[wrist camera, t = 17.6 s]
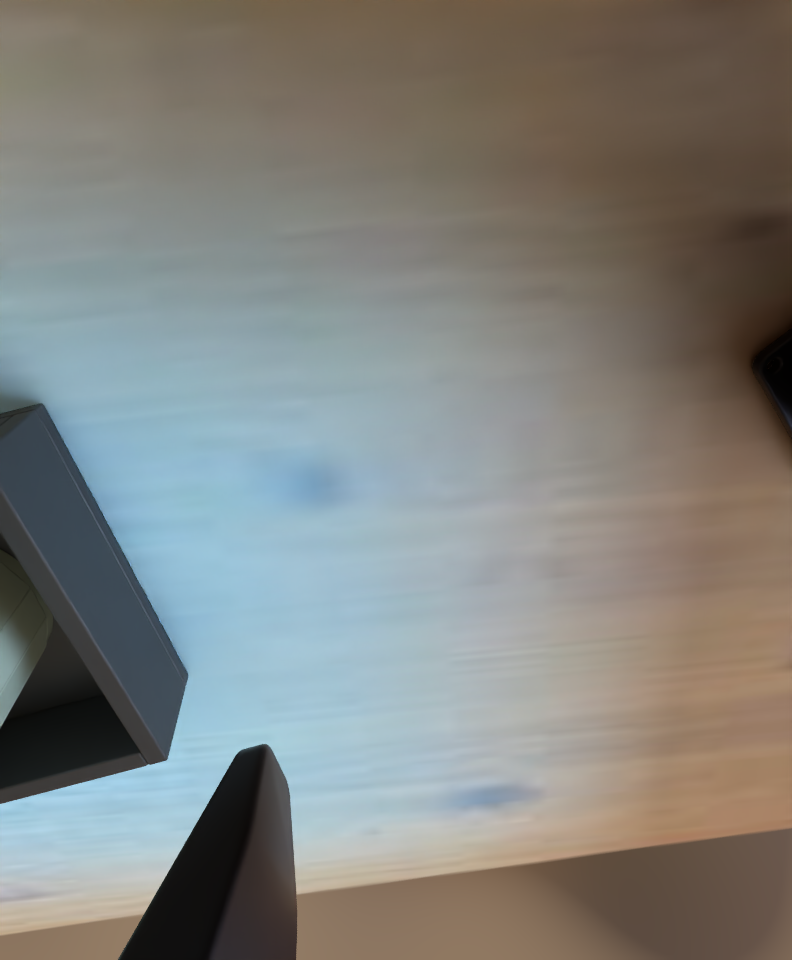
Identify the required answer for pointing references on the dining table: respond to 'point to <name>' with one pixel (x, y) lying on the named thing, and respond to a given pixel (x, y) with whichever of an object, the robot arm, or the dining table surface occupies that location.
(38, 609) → the tumbler
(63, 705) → the tub
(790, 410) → the robot arm
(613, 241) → the dining table surface
